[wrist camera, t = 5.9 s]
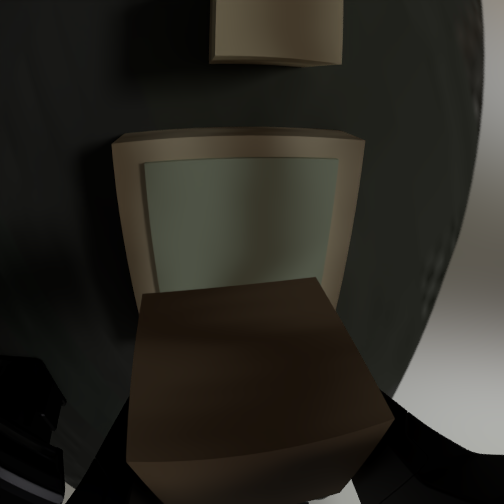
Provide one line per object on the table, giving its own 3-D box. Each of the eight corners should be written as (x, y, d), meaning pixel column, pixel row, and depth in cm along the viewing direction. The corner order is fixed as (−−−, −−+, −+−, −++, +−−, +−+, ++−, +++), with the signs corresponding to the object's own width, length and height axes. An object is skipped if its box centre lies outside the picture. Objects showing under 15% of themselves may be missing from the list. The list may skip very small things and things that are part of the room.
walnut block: (171, 396, 11) (179, 518, 7) (142, 293, 9) (126, 461, 4) (299, 380, 12) (339, 492, 8) (315, 276, 9) (394, 418, 5)
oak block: (208, 64, 14) (215, 55, 10) (211, -20, 12) (218, -55, 8) (302, 67, 15) (341, 64, 11) (304, -13, 13) (342, -39, 8)
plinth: (154, 333, 22) (152, 367, 19) (124, 133, 15) (109, 145, 12) (313, 318, 24) (328, 349, 21) (340, 130, 17) (367, 141, 14)
